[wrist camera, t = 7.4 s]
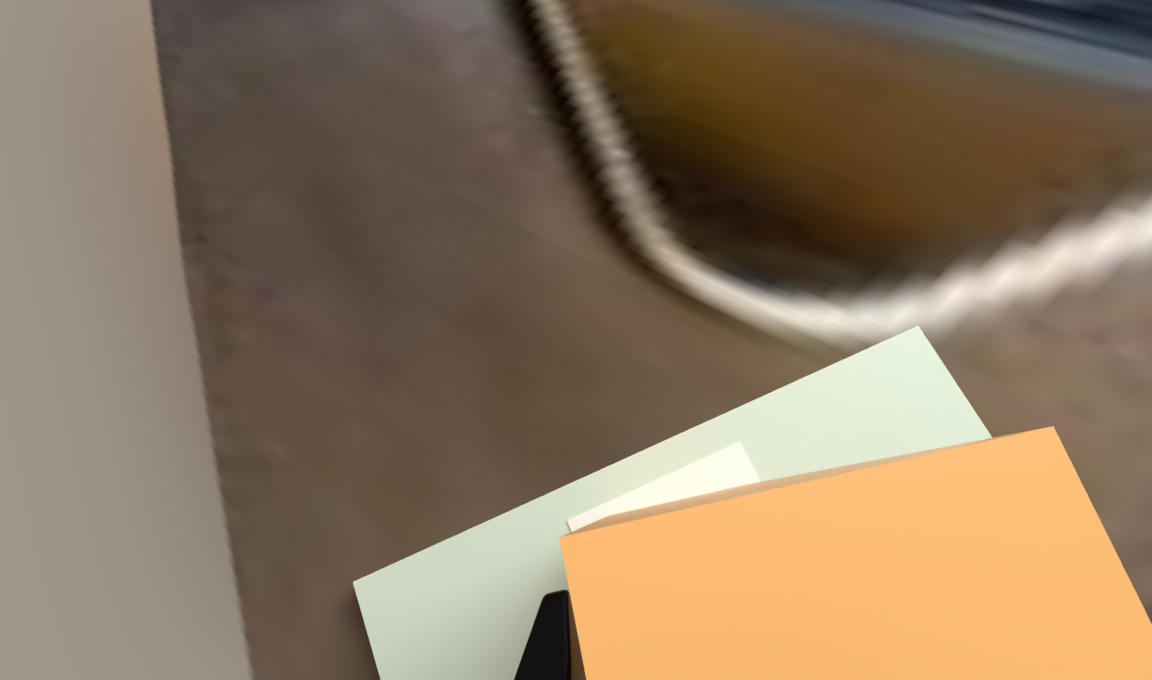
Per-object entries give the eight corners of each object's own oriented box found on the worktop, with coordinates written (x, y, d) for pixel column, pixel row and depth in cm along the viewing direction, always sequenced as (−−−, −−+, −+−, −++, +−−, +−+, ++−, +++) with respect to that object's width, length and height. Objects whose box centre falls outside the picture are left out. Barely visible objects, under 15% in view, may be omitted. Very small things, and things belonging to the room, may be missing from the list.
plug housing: (795, 640, 15) (1403, 1131, 3) (644, 672, 15) (698, 1264, 3) (747, 484, 17) (1054, 426, 5) (609, 515, 17) (560, 537, 5)
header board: (1089, 628, 16) (1224, 670, 12) (472, 923, 15) (426, 1055, 12) (899, 335, 19) (964, 300, 15) (370, 575, 18) (308, 598, 15)
